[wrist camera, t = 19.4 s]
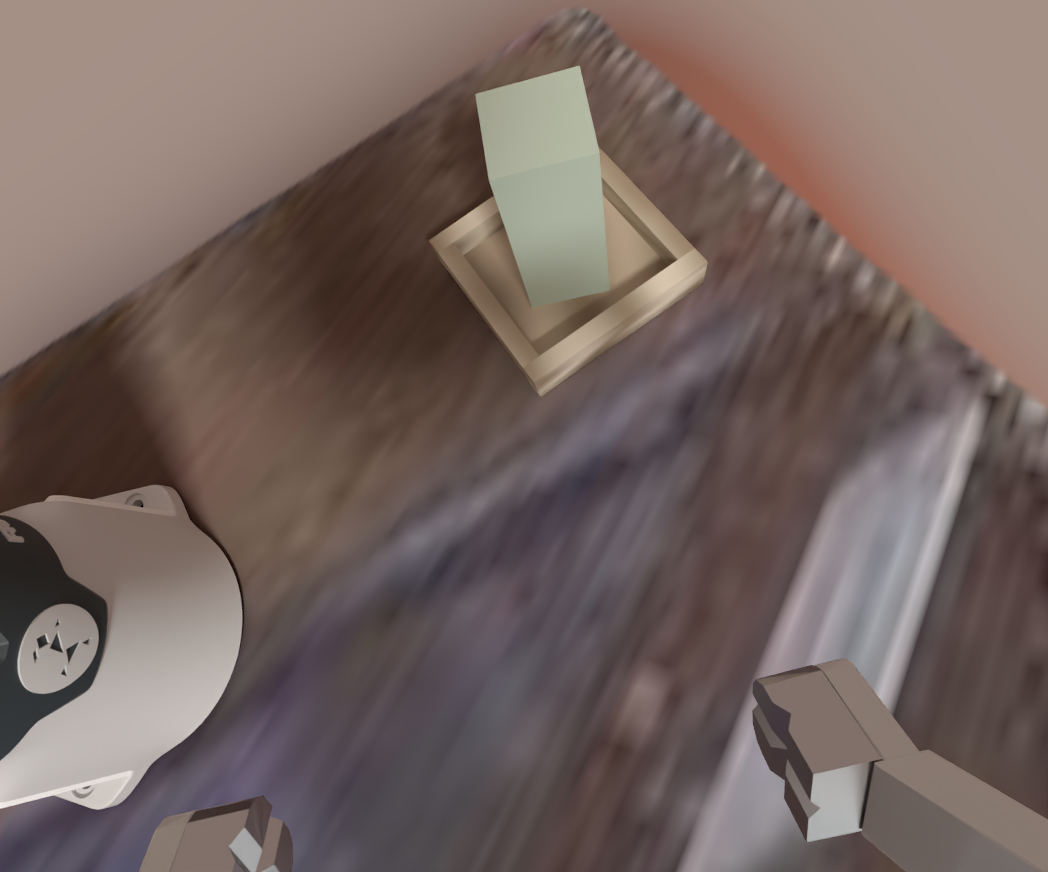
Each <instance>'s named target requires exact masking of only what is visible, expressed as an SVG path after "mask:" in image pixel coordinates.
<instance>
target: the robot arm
mask: <svg viewBox="0 0 1048 872" xmlns="http://www.w3.org/2000/svg"><path fill="white" fill-rule="evenodd" d="M142 504H143V507H141V505H142ZM241 633H242V603H241V596H240V591H239V587H238V583H237V580H236V577H235V574H234V572H233V569H232V567H231V565H230V563H229V561H228V559H227V558H226V556H225V555H224V553H223V552H222V550H221V549H220V548H219V547H218V546H217V544H216V543H215V542H214V541H213V540H212V539H211V538H209V537H208V536H207V535H206V534H204V533H203V532H202V531H201V530H200V529H198V528H197V527H196V526H195V525H194V524H193V523H192V521H191V520H190V519H189V516H188V514H187V511H186V509H185V507H184V504H183V502H182V500H181V498H180V496H179V495H178V493H177V492H176V491H175V490H174V489H173V488H172V487H169V486H162V485H150V486H146V487H141V488H137V489H133V490H129V491H125V492H121V493H117V494H113V495H109V496H105V497H101V498H96V499H92V500H91V499H85V498H78V497H71V496H63V495H51V496H49V497H48V498H47V499H46V500H45V501H44V502H38V503H32V504H28V505H24V506H21V507H18V508H15V509H12V510H9V511H6V512H3V513H0V809H1V808H5V807H9V806H13V805H17V804H21V803H24V802H28V801H32V800H36V799H40V798H44V797H48V796H52V795H55V796H58V797H60V798H63V799H66V800H69V801H72V802H75V803H78V804H80V805H83V806H86V807H89V808H92V809H104V808H108V807H112V806H116V805H118V804H120V803H121V802H122V801H124V800H125V799H126V798H127V797H128V796H129V794H130V793H131V792H132V791H133V789H134V788H135V787H136V785H137V784H138V783H139V781H140V780H141V778H142V777H143V775H144V774H145V772H146V771H147V769H148V768H149V766H150V765H151V764H152V763H153V762H154V761H155V760H157V759H158V758H159V757H160V756H162V755H163V754H164V753H166V752H167V751H169V750H170V749H172V748H173V747H175V746H176V745H178V744H179V743H180V742H182V741H183V740H184V739H186V738H187V737H188V736H189V735H190V734H191V733H192V732H194V731H195V729H196V728H197V727H198V726H199V725H200V724H201V723H202V722H203V721H204V720H205V719H206V717H207V716H208V715H209V714H210V712H211V711H212V709H213V708H214V707H215V705H216V704H217V702H218V700H219V699H220V697H221V695H222V694H223V692H224V690H225V688H226V686H227V684H228V681H229V679H230V677H231V674H232V672H233V669H234V666H235V663H236V659H237V656H238V651H239V647H240V641H241ZM753 695H754V697H755V699H756V701H757V703H758V705H757V706H756V707H755V708H754V710H753V726H754V730H755V734H756V738H757V741H758V744H759V746H760V749H761V751H762V754H763V756H764V758H765V760H766V762H767V764H768V766H769V769H770V770H771V771H772V772H774V773H775V774H776V775H778V776H779V777H781V778H782V779H784V780H785V794H784V799H785V801H786V803H787V805H788V806H789V808H790V810H791V812H792V814H793V816H794V818H795V820H796V822H797V824H798V826H799V828H800V830H801V832H802V834H803V836H804V838H805V840H806V842H810V841H815V840H820V839H824V838H829V837H834V836H839V835H844V834H848V833H853V832H858V831H862V832H861V834H862V835H863V836H864V837H865V838H866V839H868V840H869V841H870V842H871V843H872V844H874V845H875V846H876V847H877V848H878V849H879V850H881V851H882V852H883V853H884V854H885V855H887V856H888V857H889V858H890V859H891V860H893V861H894V862H895V863H896V864H897V865H899V866H900V867H901V868H902V869H903V870H905V871H906V872H1048V820H1047V819H1046V818H1044V817H1042V816H1041V815H1039V814H1037V813H1035V812H1034V811H1032V810H1030V809H1029V808H1027V807H1025V806H1024V805H1022V804H1020V803H1018V802H1017V801H1015V800H1013V799H1012V798H1010V797H1008V796H1007V795H1005V794H1003V793H1001V792H1000V791H998V790H996V789H995V788H993V787H991V786H990V785H988V784H986V783H984V782H983V781H981V780H979V779H978V778H976V777H974V776H973V775H971V774H969V773H967V772H966V771H964V770H962V769H961V768H959V767H957V766H956V765H954V764H952V763H950V762H949V761H947V760H945V759H944V758H942V757H940V756H939V755H937V754H935V753H933V752H932V751H930V750H925V751H918V749H917V748H916V747H915V745H914V744H913V743H912V741H911V740H910V739H909V737H908V736H907V735H906V733H905V732H904V731H903V729H902V728H901V727H900V725H899V724H898V723H897V721H896V720H895V719H894V717H893V716H892V715H891V713H890V712H889V711H888V709H887V708H886V707H885V706H884V704H883V703H882V702H881V700H880V699H879V698H878V696H877V695H876V694H875V692H874V691H873V690H872V688H871V687H870V686H869V684H868V683H867V682H866V680H865V679H864V678H863V676H862V675H861V674H860V672H859V671H858V670H857V668H856V667H855V666H854V664H853V663H851V662H850V661H848V660H847V659H838V660H834V661H830V662H826V663H822V664H818V665H814V666H813V665H810V666H806V667H802V668H798V669H794V670H791V671H787V672H783V673H779V674H775V675H771V676H767V677H763V678H759V679H756V680H755V681H754V683H753ZM271 810H272V805H271V804H270V803H269V802H268V801H267V799H266V798H265V797H264V796H259V797H255V798H250V799H246V800H242V801H237V802H233V803H228V804H224V805H220V806H215V807H211V808H207V809H202V810H195V811H191V812H187V813H183V814H179V815H175V816H170V817H166V818H164V820H163V821H162V822H161V824H160V825H159V826H158V828H157V829H156V830H155V832H154V834H153V837H152V840H151V842H150V845H149V847H148V850H147V852H146V855H145V857H144V860H143V862H142V865H141V867H140V870H139V872H292V866H293V843H292V839H291V836H290V832H289V829H288V828H287V826H286V825H285V823H284V822H283V821H281V820H278V819H275V818H273V817H270V814H271Z"/></svg>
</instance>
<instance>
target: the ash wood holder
mask: <svg viewBox="0 0 1048 872" xmlns="http://www.w3.org/2000/svg"><path fill="white" fill-rule="evenodd" d="M598 149H599V154H600V167H601V180H602V193H603V207H604V220H605V233H606V246H607V260H608V273H609V286H610V290H609V291H605V292H600V293H596V294H591V295H587V296H582V297H578V298H573V299H569V300H564V301H560V302H555V303H551V304H546V305H542V306H537V307H533V308H532V306H531V303H530V300H529V297H528V294H527V291H526V288H525V286H524V283H523V280H522V277H521V274H520V271H519V268H518V265H517V262H516V259H515V256H514V253H513V250H512V247H511V244H510V241H509V238H508V235H507V232H506V229H505V227H504V224H503V221H502V218H501V215H500V212H499V209H498V206H497V203H496V200H495V197H494V196H493V197H491V198H490V199H488V200H487V201H485V202H484V203H483V204H481V205H480V206H478V207H477V208H475V209H474V210H472V211H471V212H469V213H468V214H467V215H465V216H464V217H462V218H461V219H459V220H458V221H456V222H455V223H454V224H452V225H451V226H449V227H448V228H446V229H445V230H443V231H442V232H440V233H439V234H438V235H436V236H435V237H433V238H432V239H430V240H429V242H430V244H431V245H432V247H433V249H434V251H435V253H436V254H437V256H438V258H439V260H440V262H441V263H442V264H443V266H444V267H445V268H446V270H447V271H448V272H449V274H450V275H451V277H452V278H453V279H454V281H455V282H456V283H457V285H458V286H459V287H460V289H461V290H462V291H463V293H464V294H465V296H466V297H467V298H468V300H469V301H470V302H471V304H472V305H473V306H474V308H475V309H476V310H477V312H478V313H479V315H480V316H481V317H482V319H483V320H484V321H485V323H486V324H487V325H488V327H489V328H490V329H491V331H492V332H493V334H494V335H495V336H496V338H497V339H498V340H499V342H500V343H501V344H502V346H503V347H504V348H505V350H506V351H507V353H508V354H509V355H510V357H511V358H512V359H513V361H514V362H515V363H516V365H517V366H518V368H519V369H520V370H521V372H522V373H523V374H524V376H525V377H526V378H527V380H528V381H529V382H530V384H531V385H532V387H533V388H534V389H535V391H536V392H537V393H538V395H539V396H540V397H541V396H543V395H544V394H546V393H547V392H548V391H550V390H551V389H553V388H554V387H556V386H557V385H559V384H560V383H561V382H563V381H564V380H566V379H567V378H569V377H570V376H571V375H573V374H574V373H576V372H577V371H579V370H580V369H581V368H583V367H584V366H586V365H587V364H589V363H590V362H592V361H593V360H594V359H596V358H597V357H599V356H600V355H602V354H603V353H604V352H606V351H607V350H609V349H610V348H612V347H613V346H614V345H616V344H617V343H619V342H620V341H622V340H623V339H625V338H626V337H627V336H629V335H630V334H632V333H633V332H635V331H636V330H637V329H639V328H640V327H642V326H643V325H645V324H646V323H647V322H649V321H650V320H652V319H653V318H655V317H656V316H657V315H659V314H660V313H662V312H663V311H665V310H666V309H668V308H669V307H670V306H672V305H673V304H675V303H676V302H678V301H679V300H680V299H682V298H683V297H685V296H686V295H688V294H689V293H690V292H692V291H693V290H695V289H696V288H698V287H699V286H701V285H702V284H703V281H704V277H705V272H706V267H707V261H706V260H705V259H704V258H703V257H702V255H701V254H700V253H699V252H698V251H697V250H696V249H695V248H694V247H693V246H692V245H691V244H690V243H689V242H688V241H687V240H686V239H685V238H684V236H683V235H682V234H681V233H680V232H679V231H678V230H677V229H676V228H675V227H674V226H673V225H672V224H671V223H670V222H669V221H668V220H667V219H666V217H665V216H664V215H663V214H662V213H661V212H660V211H659V210H658V209H657V208H656V207H655V206H654V205H653V204H652V203H651V202H650V201H649V200H648V198H647V197H646V196H645V195H644V194H643V193H642V192H641V191H640V190H639V189H638V188H637V187H636V186H635V185H634V184H633V183H632V182H631V181H630V179H629V178H628V177H627V176H626V175H625V174H624V173H623V172H622V171H621V170H620V169H619V168H618V167H617V166H616V165H615V164H614V163H613V162H612V160H611V159H610V158H609V157H608V156H607V155H606V154H605V153H604V152H603V151H602V150H601V149H600V148H599V147H598Z"/></svg>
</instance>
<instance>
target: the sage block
mask: <svg viewBox="0 0 1048 872" xmlns="http://www.w3.org/2000/svg"><path fill="white" fill-rule="evenodd" d="M475 96H476V102H477V109H478V115H479V121H480V127H481V134H482V140H483V146H484V153H485V159H486V165H487V172H488V178H489V182H490V185H491V188H492V191H493V194H494V197H495V200H496V203H497V206H498V209H499V212H500V215H501V218H502V221H503V224H504V227H505V229H506V232H507V235H508V238H509V241H510V244H511V247H512V250H513V253H514V256H515V259H516V262H517V265H518V268H519V271H520V274H521V277H522V280H523V283H524V286H525V288H526V291H527V294H528V297H529V300H530V303H531V306H532V308H533V307H537V306H542V305H546V304H551V303H555V302H560V301H564V300H569V299H573V298H578V297H582V296H587V295H591V294H596V293H600V292H605V291H609V290H610V286H609V273H608V260H607V246H606V233H605V220H604V207H603V193H602V180H601V167H600V154H599V149H598V144H597V140H596V136H595V131H594V127H593V123H592V118H591V114H590V109H589V105H588V101H587V96H586V92H585V88H584V83H583V79H582V75H581V70H580V66H577V67H573V68H570V69H566V70H562V71H559V72H555V73H551V74H547V75H544V76H540V77H536V78H533V79H529V80H525V81H522V82H518V83H514V84H511V85H507V86H503V87H499V88H496V89H492V90H488V91H485V92H481V93H477V94H475Z"/></svg>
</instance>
